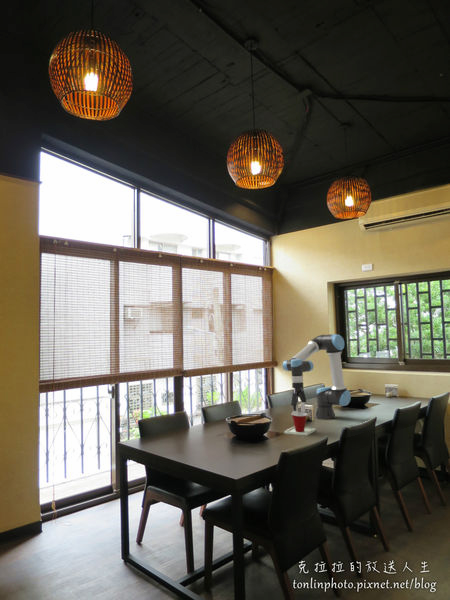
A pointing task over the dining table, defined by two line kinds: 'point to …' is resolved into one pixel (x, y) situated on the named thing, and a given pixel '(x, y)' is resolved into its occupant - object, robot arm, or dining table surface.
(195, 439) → the dining table surface
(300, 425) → the plastic cup
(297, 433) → the tray
